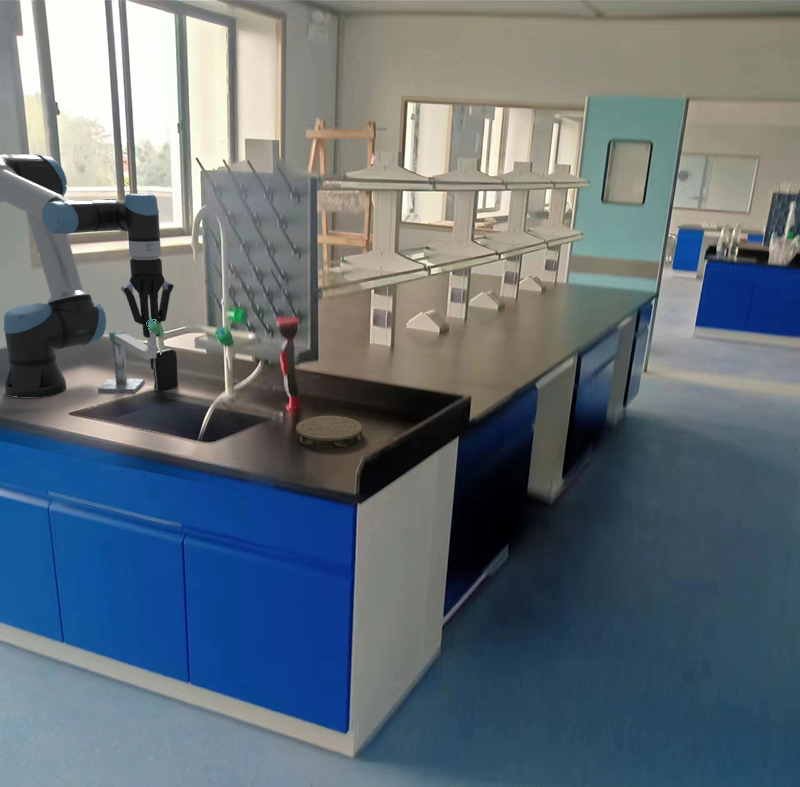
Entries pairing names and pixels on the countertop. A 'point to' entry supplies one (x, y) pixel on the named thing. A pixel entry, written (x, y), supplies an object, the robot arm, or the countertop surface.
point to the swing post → (120, 375)
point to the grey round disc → (329, 432)
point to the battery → (165, 369)
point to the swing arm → (132, 344)
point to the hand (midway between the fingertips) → (152, 348)
